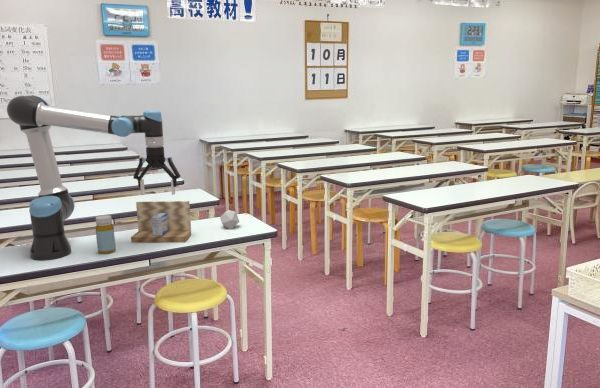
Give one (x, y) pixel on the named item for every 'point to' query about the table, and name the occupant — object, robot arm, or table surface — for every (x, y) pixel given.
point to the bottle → (105, 234)
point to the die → (229, 219)
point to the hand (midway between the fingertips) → (158, 194)
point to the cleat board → (176, 221)
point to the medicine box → (159, 224)
